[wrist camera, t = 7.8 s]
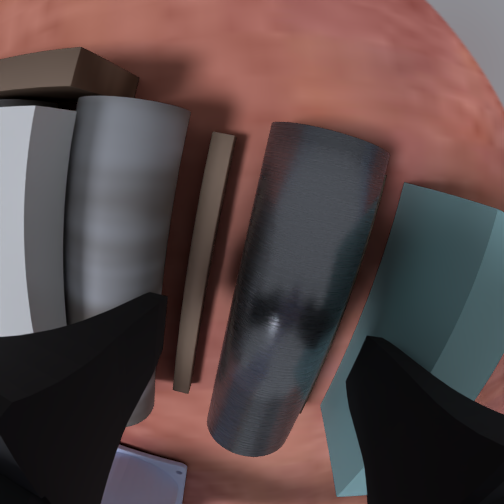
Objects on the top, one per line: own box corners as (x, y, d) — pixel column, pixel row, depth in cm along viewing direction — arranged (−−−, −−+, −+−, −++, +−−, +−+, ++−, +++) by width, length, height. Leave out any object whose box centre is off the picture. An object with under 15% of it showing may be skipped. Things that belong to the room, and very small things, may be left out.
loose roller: (261, 390, 16) (303, 441, 13) (194, 405, 14) (230, 466, 11) (331, 146, 12) (411, 163, 9) (249, 120, 10) (329, 125, 7)
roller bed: (289, 424, 16) (293, 490, 11) (-43, 309, 15) (-79, 336, 10) (389, 129, 11) (450, 121, 6) (-46, 92, 10) (-96, 92, 6)
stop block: (368, 408, 15) (395, 491, 9) (320, 405, 15) (336, 496, 9) (456, 202, 12) (550, 238, 6) (404, 182, 11) (498, 209, 6)
